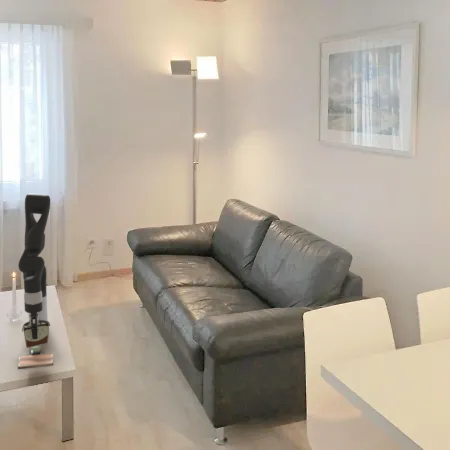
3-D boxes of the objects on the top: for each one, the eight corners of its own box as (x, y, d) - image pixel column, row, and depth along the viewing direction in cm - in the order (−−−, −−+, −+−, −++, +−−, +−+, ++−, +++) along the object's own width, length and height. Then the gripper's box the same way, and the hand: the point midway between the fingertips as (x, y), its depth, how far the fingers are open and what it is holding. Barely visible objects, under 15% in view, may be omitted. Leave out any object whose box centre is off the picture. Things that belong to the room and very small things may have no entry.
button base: (31, 351, 269) (31, 350, 269) (40, 350, 270) (40, 349, 270) (31, 355, 266) (31, 354, 265) (40, 354, 267) (40, 353, 267)
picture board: (18, 357, 264) (18, 355, 263) (52, 354, 268) (52, 352, 268) (18, 368, 253) (18, 367, 253) (53, 364, 258) (53, 363, 258)
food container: (46, 337, 265) (45, 317, 262) (51, 342, 260) (50, 321, 258) (18, 343, 258) (17, 322, 255) (23, 349, 253) (22, 327, 250)
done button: (32, 348, 269) (31, 345, 268) (39, 347, 270) (39, 344, 269) (31, 351, 265) (31, 348, 265) (39, 350, 266) (39, 347, 266)
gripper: (24, 295, 259) (26, 329, 263) (23, 307, 246) (25, 343, 250) (42, 294, 262) (43, 328, 266) (42, 305, 248) (43, 341, 252)
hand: (35, 335), depth 258 cm, fingers closed on food container, 7 cm apart
